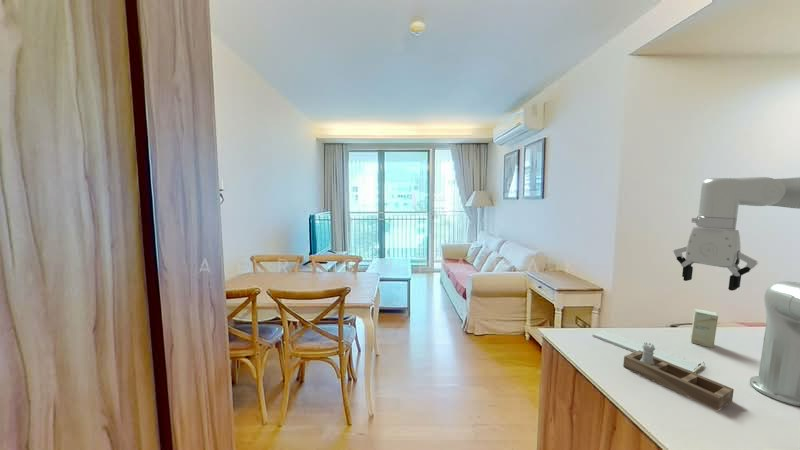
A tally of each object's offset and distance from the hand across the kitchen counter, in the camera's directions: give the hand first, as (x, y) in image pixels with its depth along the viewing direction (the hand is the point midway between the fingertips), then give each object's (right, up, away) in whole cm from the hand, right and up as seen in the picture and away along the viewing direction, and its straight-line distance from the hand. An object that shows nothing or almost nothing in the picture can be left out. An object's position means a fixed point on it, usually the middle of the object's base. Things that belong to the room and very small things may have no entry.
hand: (708, 284), depth 89 cm
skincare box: (+26, -28, +30) cm, 48 cm away
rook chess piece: (-8, -29, +12) cm, 32 cm away
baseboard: (+1, -29, +25) cm, 38 cm away
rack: (-5, -30, +5) cm, 31 cm away
